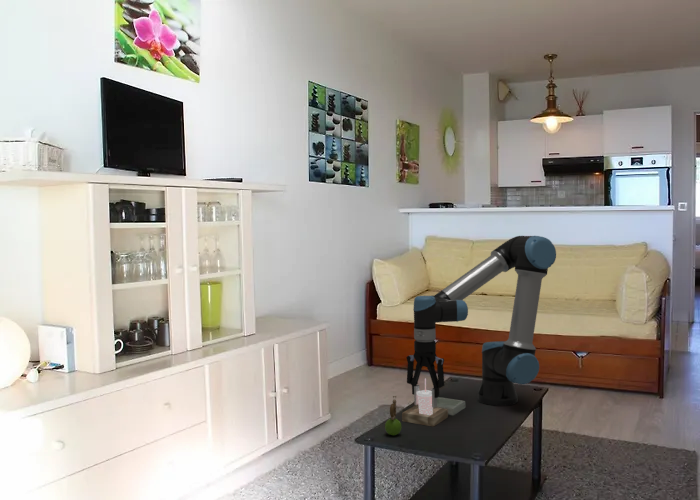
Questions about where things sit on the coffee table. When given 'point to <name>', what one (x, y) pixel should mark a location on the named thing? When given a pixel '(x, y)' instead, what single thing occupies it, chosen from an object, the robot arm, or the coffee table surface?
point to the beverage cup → (425, 401)
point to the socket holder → (424, 416)
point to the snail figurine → (393, 421)
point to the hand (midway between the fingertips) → (425, 405)
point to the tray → (450, 405)
